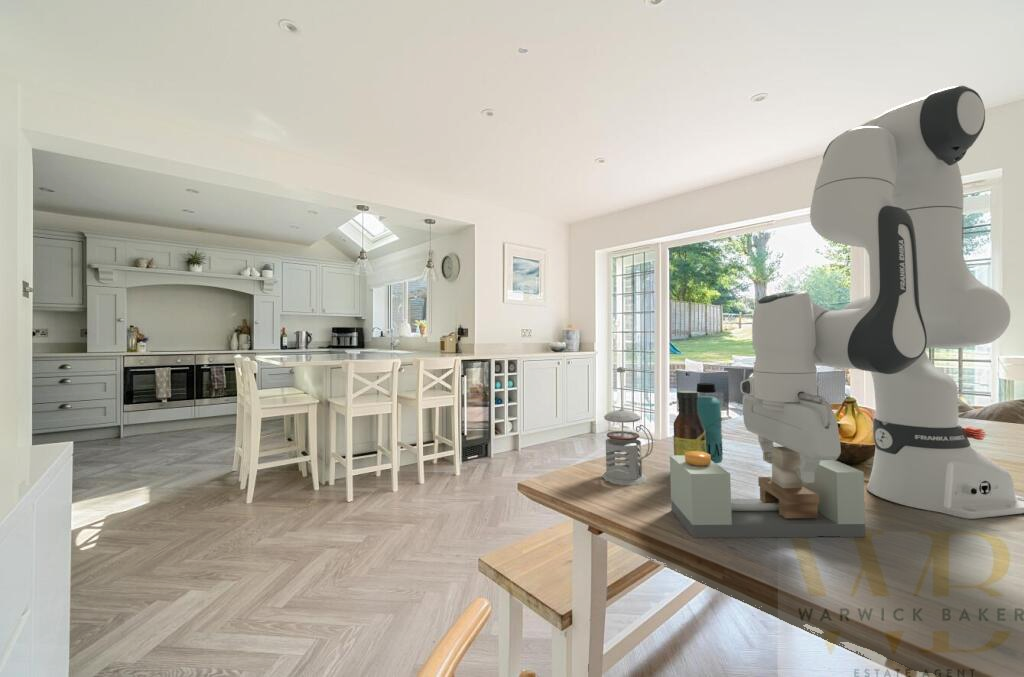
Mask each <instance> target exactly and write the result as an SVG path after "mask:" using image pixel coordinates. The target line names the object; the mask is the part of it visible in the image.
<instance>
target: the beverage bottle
mask: <svg viewBox="0 0 1024 677" xmlns="http://www.w3.org/2000/svg"><path fill="white" fill-rule="evenodd" d="M696 392H698V393H705V394H709V393H710V394H712V393H716V385H715V383H713V382H697V384H696ZM697 403H698V404H697V406H698V413H699V415H700V418H701V420H702V423H703V425H704V428H705V436H706V453H708V454H710V455H711V461H713V462H714V463H716V464H720V463H722V461H723V458H724V456H723V455H724V452H723V434H722V432H723V429H722V424H723V422H722V421H723V418H722V414H723V412H722V411H721V410H722V409H721V407H722V406H721V405H722V404H721V403H722V402H721V401H720V400H719V399H718V398H717V397H715V396H710V395H709V396H708V395H701V396H699V395H698V399H697Z"/></svg>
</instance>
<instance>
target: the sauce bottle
mask: <svg viewBox="0 0 1024 677" xmlns="http://www.w3.org/2000/svg"><path fill="white" fill-rule="evenodd" d="M676 396H677V397H676V398H677V400H678V402H677V403H678V408H677V410H678V415H677V416H676V418H675V419H674V421H673V437H672V438H673V456H674V455H685V452H688V451H700V452H705V453H706V436H705V428H704V425H703V423H702V420H701V418H700V415H699V413H698V406H697V404H698V403H697V399H698V397H699V392H697V390H696V391H695V390H679V391H677V392H676Z"/></svg>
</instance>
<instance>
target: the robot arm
mask: <svg viewBox="0 0 1024 677" xmlns="http://www.w3.org/2000/svg"><path fill="white" fill-rule="evenodd" d="M985 122H986V109H985V105H984V102H983V99H982V98H981V95H980V94H979V93H978V92H977V91H976V90H975V89H972V88H971V87H968V86H966V85H957V86H951V87H947V88H943V89H939V90H937V91H933V92H931V93H930V94H928V95H927V96H924V97H920V98H919V99H915V100H912V101H909V102H905V103H904V104H901V105H898V106H896V107H893V108H891V109H889V110H886V111H885V112H883V113H882V114H880V115H878V116H875V117H874V118H872V119H870V120H868V121H866V122H863V123H861V124H860V125H859V126H857V127H855V128H852V129H848V130H846V131H844V132H843V133H841V134H840V135H838V136H837V137H835V138H833V139H832V140H831V141H830V142H829V143H828V145H827V147H826V149H825V150H824V153H823V156H822V162H821V165H820V167H819V171H818V174H817V178H816V181H815V185H814V187H813V188H814V189H813V195H812V200H811V202H810V203H811V205H810V211H809V216H810V217H809V218H810V224H811V226H812V229H814V230H815V232H816V233H817V234H818V235H820V236H821V237H822V238H824V239H826V240H828V241H830V242H834V243H836V244H841V245H844V246H849V247H850V246H851V247H858V248H864V249H865V251H866V252H867V254H868V258H869V259H868V260H869V291H870V292H869V295H867V296H863V297H860V298H857V299H855V300H852V301H850V302H849V303H847V304H846V305H844V306H843V308H842V309H840V310H839V309H838V310H837V309H830V308H827V307H824V306H822V305H820V304H818V303H817V302H815V301H814V300H813V299H812V298H811V295H810V293H809V292H808V291H807V290H806V291H805V290H798V289H797V290H789V291H784V292H779V293H773V294H772V293H771V294H769V295H765V296H762V297H761V298H759V299H758V300H757V301H756V303H755V307H754V309H753V316H752V324H751V325H752V327H751V328H752V329H751V330H752V331H751V334H752V335H751V336H752V342H751V343H752V348H753V350H754V353H755V361H754V364H753V368H752V370H753V371H752V372H753V376H750V377H749V378H747V379H745V380H742V381H741V382H740V383H739V384H740V385H739V386H740V387H739V388H740V389H739V390H740V393H742V394H743V396H742V418H743V423H744V426H745V428H746V430H747V431H748V432H750V433H752V434H754V435H757V437H758V438H757V440H758V443H759V447H760V449H761V451H762V459H763V461H764V462H766V463H767V464H770V465H772V451H771V447H775V446H774V444H778V445H780V446H781V447H786V448H789V449H791V450H793V451H795V452H798V453H800V460H803V461H802V464H801V467H800V468H797V478H798V479H799V480H801V481H803V482H805V483H813V482H814V481H815V472H814V471H815V470H816V469H817V467H818V465H819V463H820V460H836V461H837V460H838V458H839V457H840V456H841V454H842V453H841V451H842V449H841V441H840V433H839V425H838V421H837V417H836V414H835V412H834V411H833V409H832V406H831V405H830V404H829V403H828V402H827V401H826V399H825V397H823V396H822V395H818V372H817V367H828V368H829V367H830V368H834V369H835V368H836V369H847V370H848V369H851V370H860V371H865V372H870V373H871V377H872V380H873V389H874V401H875V402H874V403H875V404H874V405H875V417H874V418H873V419H872V434H873V435H872V436H873V441H874V445H875V448H874V449H875V450H874V457H873V462H872V463H873V464H872V469H871V473H870V476H869V480H868V483H867V485H866V490H867V491H868V492H870V493H871V494H873V495H875V496H877V497H879V498H881V499H883V500H886V501H889V502H892V503H895V504H899V505H904V506H907V507H911V508H915V509H921V510H926V511H933V512H936V513H937V512H938V513H943V514H947V515H949V516H954V517H958V518H962V519H968V520H969V519H970V520H971V519H982V518H988V517H989V518H991V517H1001V516H1008V515H1017V514H1024V497H1023V496H1020V495H1017V494H1016V491H1015V485H1014V483H1015V482H1014V480H1013V477H1012V475H1011V474H1010V472H1009V471H1008V470H1007V469H1006V468H1004V467H1003V466H1001V465H1000V464H998V463H997V462H995V461H993V460H992V459H990V458H989V457H987V456H986V455H984V454H982V453H981V452H980V451H978V450H977V449H975V448H973V447H972V446H971V443H970V440H969V439H973V440H976V441H983V440H984V438H986V435H987V434H986V431H985V430H984V429H982V428H977V427H976V428H975V427H972V426H967V427H966V428H965V427H963V426H962V425H960V424H959V396H958V386H957V383H956V381H955V380H954V378H952V377H951V376H950V374H947V373H946V372H944V371H942V370H940V369H939V368H937V367H936V366H935V365H934V364H933V362H932V361H931V360H930V358H929V356H928V354H927V352H926V349H940V350H941V349H943V350H944V349H947V350H948V349H949V350H953V349H962V348H969V347H970V348H971V347H976V346H981V345H987V344H990V343H993V342H994V341H996V340H997V339H999V338H1000V337H1001V336H1002V335H1003V334H1004V333H1005V331H1006V330H1007V328H1008V327H1009V324H1010V322H1011V310H1010V305H1009V304H1008V302H1007V300H1006V298H1004V297H1003V295H1001V293H999V292H998V291H997V290H995V289H993V288H991V287H989V286H987V285H985V284H984V283H982V282H981V281H980V280H978V279H977V278H976V277H975V275H973V273H972V272H971V270H970V268H969V267H968V265H967V262H966V259H965V257H964V251H963V218H964V217H963V216H964V215H963V213H964V187H963V180H962V175H961V170H960V166H959V163H958V162H960V161H961V160H962V159H963V158H964V157H965V155H966V153H967V151H968V150H969V149H970V148H971V147H972V146H974V144H975V142H976V140H977V139H978V138H979V136H980V134H981V133H982V130H983V128H984V127H985V126H984V125H985Z"/></svg>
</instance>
